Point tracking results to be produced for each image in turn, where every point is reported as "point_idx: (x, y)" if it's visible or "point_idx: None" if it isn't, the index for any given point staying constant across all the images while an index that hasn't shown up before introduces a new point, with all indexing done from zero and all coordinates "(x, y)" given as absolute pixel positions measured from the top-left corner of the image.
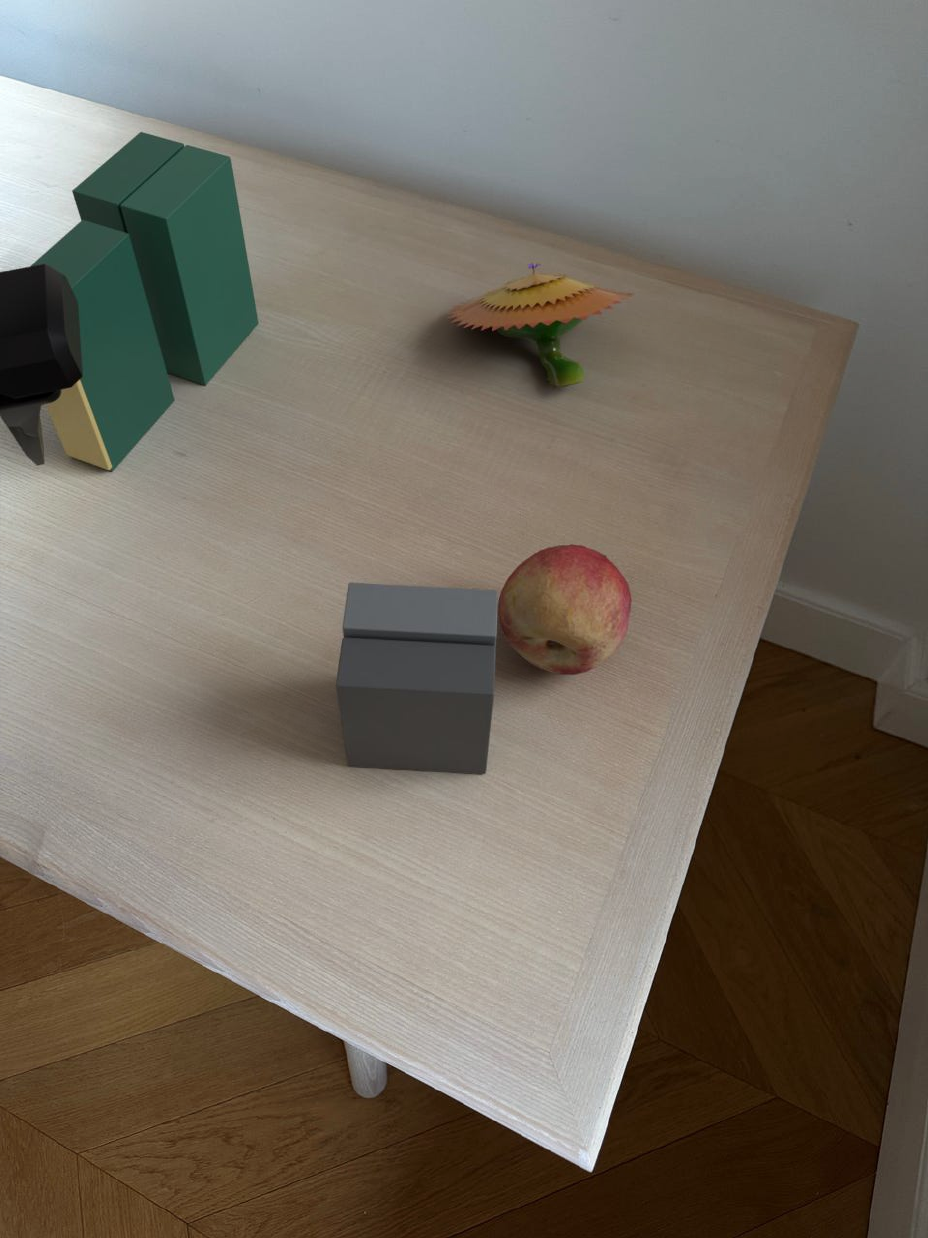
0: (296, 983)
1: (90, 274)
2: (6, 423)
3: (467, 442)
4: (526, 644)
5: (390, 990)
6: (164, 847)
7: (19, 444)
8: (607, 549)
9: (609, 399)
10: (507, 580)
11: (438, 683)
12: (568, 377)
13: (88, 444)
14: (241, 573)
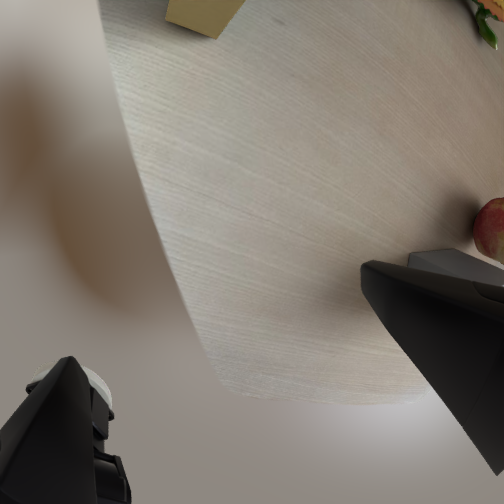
0: (362, 401)
1: None
2: (470, 436)
3: (456, 63)
4: (490, 257)
5: (391, 390)
6: (310, 375)
7: (419, 370)
8: (495, 160)
9: (495, 55)
10: (499, 225)
11: None
12: (495, 44)
13: (208, 22)
14: (348, 166)
